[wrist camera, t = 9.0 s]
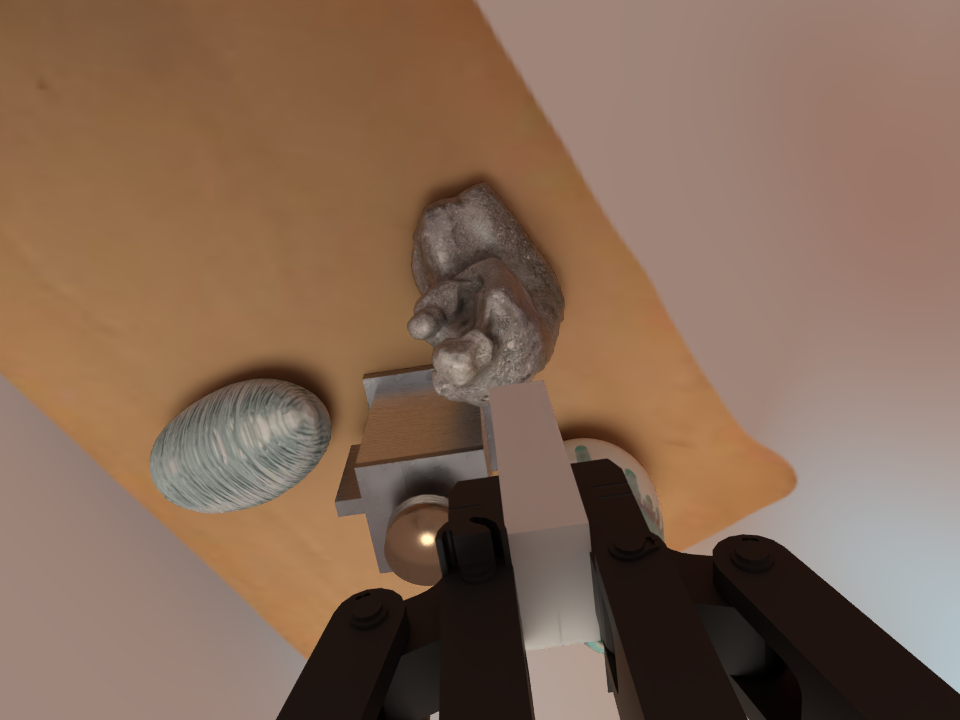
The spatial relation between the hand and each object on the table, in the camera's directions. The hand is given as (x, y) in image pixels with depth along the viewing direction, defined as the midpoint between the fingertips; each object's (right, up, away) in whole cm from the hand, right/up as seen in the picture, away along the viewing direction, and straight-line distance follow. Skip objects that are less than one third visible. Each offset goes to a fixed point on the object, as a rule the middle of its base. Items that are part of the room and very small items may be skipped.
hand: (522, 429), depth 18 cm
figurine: (-2, +9, +34) cm, 35 cm away
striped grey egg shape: (-20, -3, +38) cm, 43 cm away
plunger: (-5, -5, +34) cm, 34 cm away
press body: (-5, -3, +38) cm, 38 cm away
